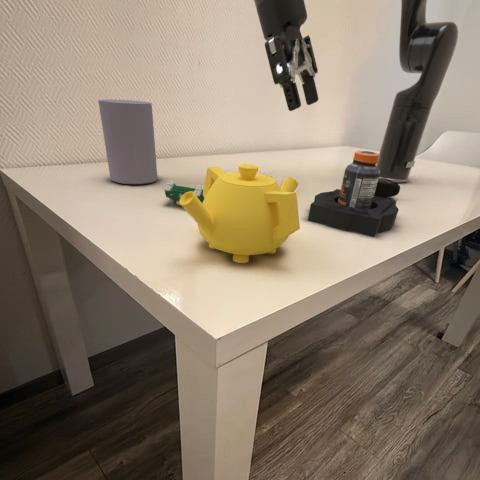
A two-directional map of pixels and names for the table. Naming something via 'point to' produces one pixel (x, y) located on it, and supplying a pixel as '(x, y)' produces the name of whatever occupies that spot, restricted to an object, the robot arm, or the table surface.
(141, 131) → the container
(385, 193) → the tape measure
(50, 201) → the table surface
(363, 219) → the socket pad
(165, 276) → the table surface
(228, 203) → the teapot
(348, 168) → the pill bottle
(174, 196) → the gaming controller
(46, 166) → the table surface
